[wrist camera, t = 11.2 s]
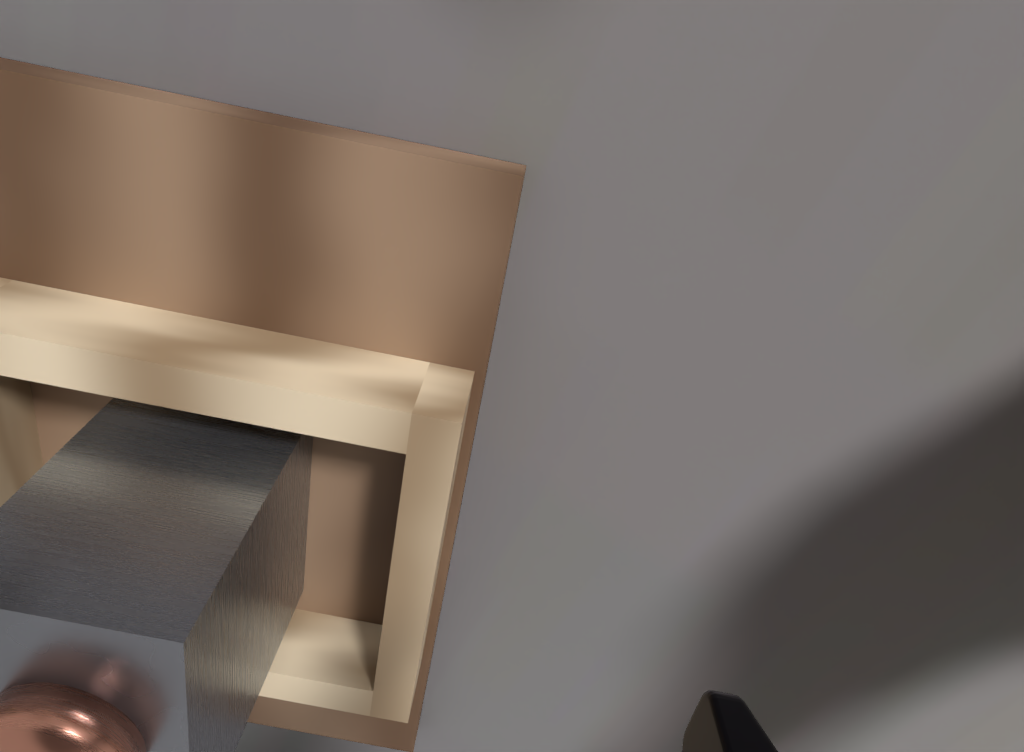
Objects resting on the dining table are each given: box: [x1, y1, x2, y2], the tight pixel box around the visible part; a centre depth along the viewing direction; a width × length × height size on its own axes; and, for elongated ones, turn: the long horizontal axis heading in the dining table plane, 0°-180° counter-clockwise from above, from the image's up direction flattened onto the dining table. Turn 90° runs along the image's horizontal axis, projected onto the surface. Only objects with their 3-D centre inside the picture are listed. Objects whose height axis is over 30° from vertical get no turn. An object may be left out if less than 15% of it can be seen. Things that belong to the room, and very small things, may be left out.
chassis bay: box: [0, 57, 526, 752], centre depth 22 cm, size 14×22×4 cm, turn 169°
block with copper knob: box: [0, 398, 313, 752], centre depth 19 cm, size 5×7×9 cm
